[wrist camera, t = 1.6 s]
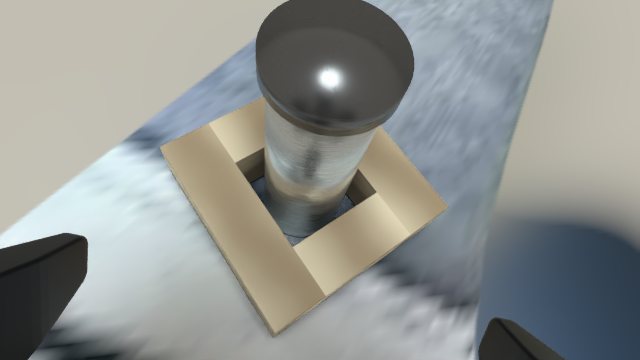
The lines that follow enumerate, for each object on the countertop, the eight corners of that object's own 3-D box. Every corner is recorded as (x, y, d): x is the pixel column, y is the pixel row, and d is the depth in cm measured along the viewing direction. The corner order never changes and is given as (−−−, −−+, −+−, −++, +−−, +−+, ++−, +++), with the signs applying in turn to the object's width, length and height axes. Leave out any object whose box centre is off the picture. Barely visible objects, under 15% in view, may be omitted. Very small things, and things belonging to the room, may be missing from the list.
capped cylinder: (289, 258, 23) (317, 147, 11) (243, 189, 24) (224, 25, 12) (357, 213, 24) (445, 75, 13) (311, 151, 26) (351, -25, 14)
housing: (273, 337, 21) (275, 332, 18) (173, 175, 24) (159, 146, 21) (424, 227, 24) (448, 207, 21) (321, 98, 27) (329, 64, 24)
